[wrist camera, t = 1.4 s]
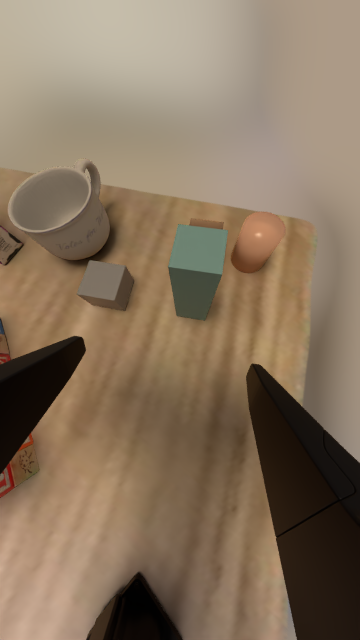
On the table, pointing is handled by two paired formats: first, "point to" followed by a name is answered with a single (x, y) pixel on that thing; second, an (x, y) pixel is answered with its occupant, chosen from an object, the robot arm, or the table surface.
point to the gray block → (106, 285)
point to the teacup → (62, 210)
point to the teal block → (196, 268)
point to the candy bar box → (8, 246)
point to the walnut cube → (206, 223)
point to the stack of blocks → (25, 458)
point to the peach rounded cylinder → (257, 241)
